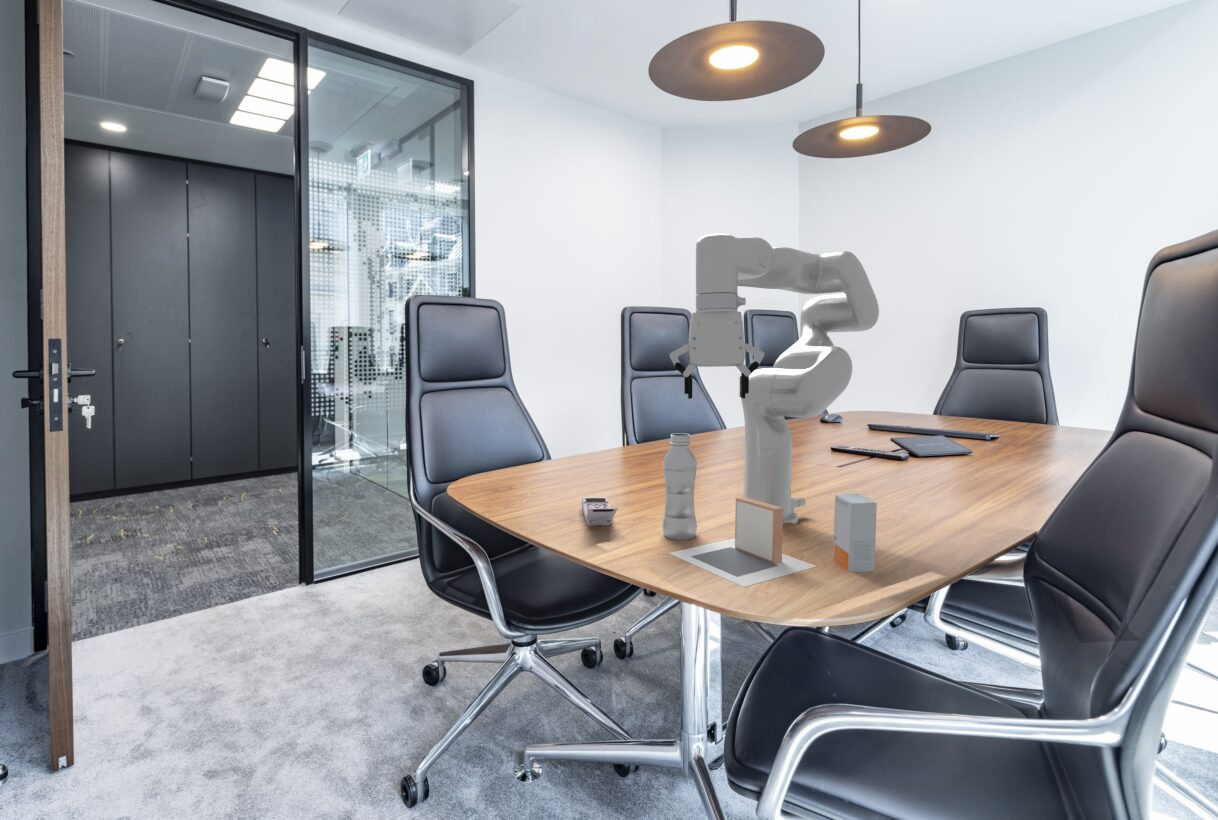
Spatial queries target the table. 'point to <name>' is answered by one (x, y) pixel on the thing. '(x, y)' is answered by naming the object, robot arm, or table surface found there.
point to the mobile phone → (597, 511)
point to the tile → (759, 529)
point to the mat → (739, 563)
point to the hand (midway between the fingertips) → (716, 397)
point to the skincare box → (854, 532)
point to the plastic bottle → (679, 489)
